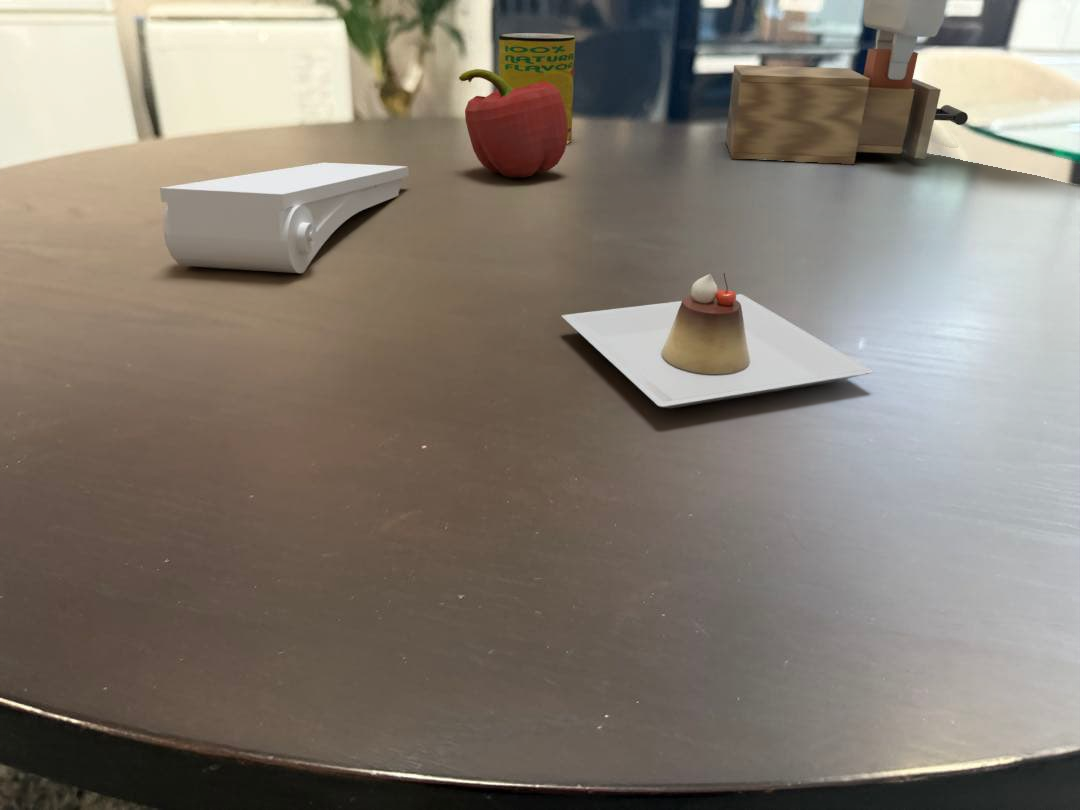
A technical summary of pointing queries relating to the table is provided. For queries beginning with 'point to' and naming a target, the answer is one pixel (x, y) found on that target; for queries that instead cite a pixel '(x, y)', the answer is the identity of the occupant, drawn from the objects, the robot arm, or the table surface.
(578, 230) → the table surface
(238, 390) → the table surface
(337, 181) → the wall bracket
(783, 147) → the cabinet
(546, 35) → the beverage can
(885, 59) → the block
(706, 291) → the dessert
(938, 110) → the drawer
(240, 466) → the table surface
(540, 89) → the vegetable
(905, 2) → the robot arm
